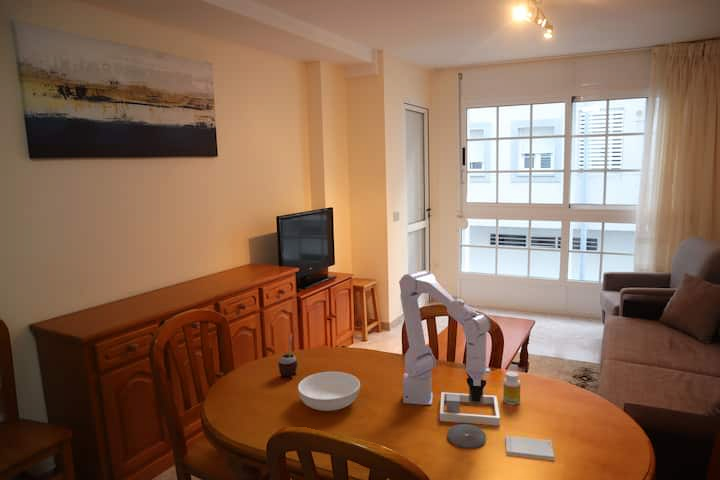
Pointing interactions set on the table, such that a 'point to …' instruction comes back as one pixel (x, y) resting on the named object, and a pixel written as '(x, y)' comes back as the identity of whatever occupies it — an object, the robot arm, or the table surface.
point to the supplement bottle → (511, 388)
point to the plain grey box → (453, 403)
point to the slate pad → (466, 436)
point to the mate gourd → (288, 364)
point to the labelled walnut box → (475, 402)
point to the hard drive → (529, 448)
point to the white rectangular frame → (470, 417)
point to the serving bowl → (329, 390)
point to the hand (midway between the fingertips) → (475, 397)
